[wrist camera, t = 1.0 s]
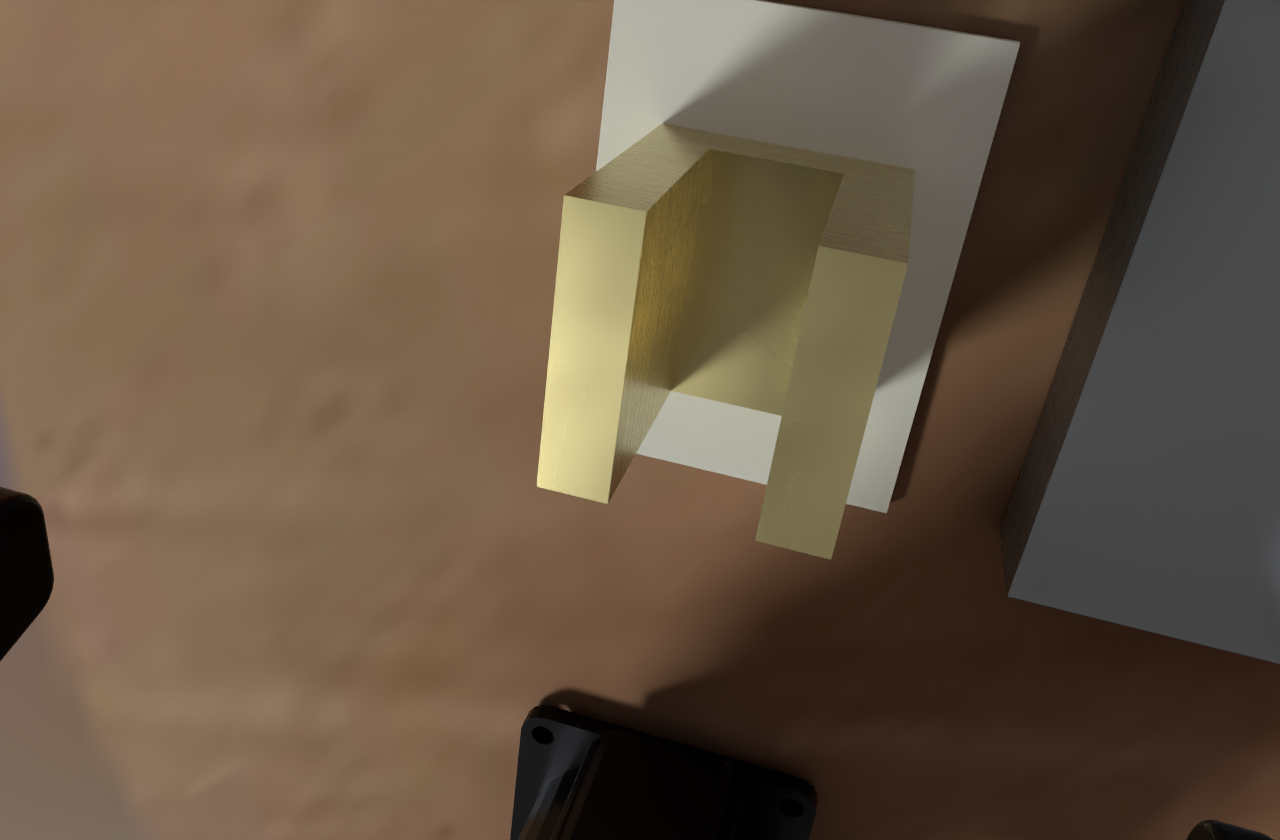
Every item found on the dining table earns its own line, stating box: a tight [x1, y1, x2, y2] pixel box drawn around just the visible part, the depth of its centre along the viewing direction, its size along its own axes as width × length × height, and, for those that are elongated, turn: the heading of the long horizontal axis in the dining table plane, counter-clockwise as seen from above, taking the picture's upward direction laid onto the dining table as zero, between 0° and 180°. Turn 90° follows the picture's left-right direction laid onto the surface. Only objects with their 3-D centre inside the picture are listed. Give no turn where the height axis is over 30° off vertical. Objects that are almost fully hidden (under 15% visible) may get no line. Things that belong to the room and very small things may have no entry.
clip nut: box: [537, 123, 915, 560], centre depth 15 cm, size 4×4×5 cm
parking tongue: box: [596, 0, 1020, 513], centre depth 17 cm, size 8×6×1 cm
